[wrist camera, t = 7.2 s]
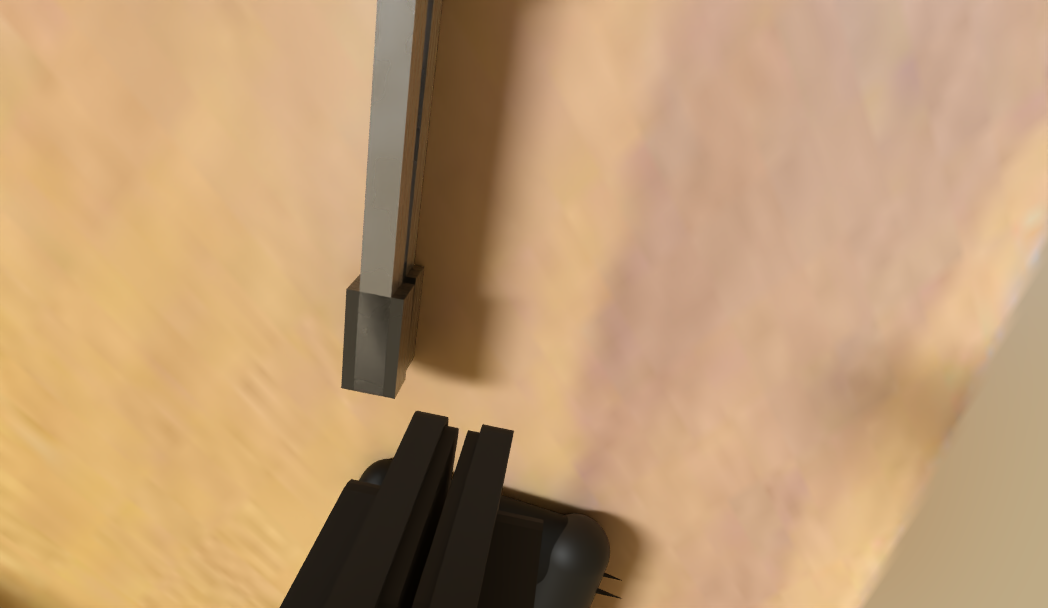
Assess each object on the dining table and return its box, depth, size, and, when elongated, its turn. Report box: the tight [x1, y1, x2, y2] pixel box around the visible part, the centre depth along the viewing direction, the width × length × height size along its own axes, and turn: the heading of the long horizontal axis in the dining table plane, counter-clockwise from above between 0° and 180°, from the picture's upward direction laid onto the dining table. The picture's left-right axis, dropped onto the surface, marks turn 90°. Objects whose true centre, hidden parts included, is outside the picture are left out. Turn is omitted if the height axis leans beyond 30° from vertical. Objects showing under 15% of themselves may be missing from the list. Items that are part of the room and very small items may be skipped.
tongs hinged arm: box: [341, 0, 428, 399], centre depth 20 cm, size 22×2×2 cm, turn 171°
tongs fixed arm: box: [402, 0, 442, 370], centre depth 22 cm, size 22×2×2 cm, turn 170°
